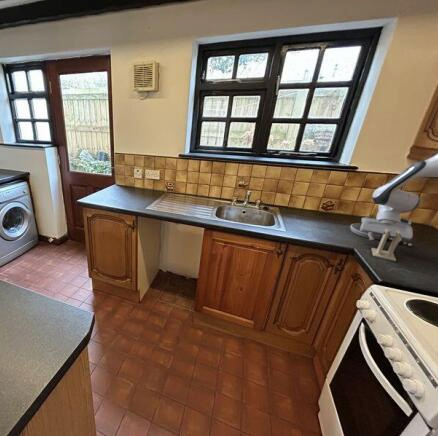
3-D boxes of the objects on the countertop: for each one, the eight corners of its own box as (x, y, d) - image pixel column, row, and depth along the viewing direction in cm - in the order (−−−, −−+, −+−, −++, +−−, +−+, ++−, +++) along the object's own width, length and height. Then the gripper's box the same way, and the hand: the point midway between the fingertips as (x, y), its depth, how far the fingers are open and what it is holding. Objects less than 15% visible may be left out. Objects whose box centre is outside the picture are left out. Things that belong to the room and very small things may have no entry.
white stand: (371, 249, 127) (381, 225, 122) (391, 254, 123) (402, 229, 118) (373, 257, 120) (384, 232, 115) (395, 262, 116) (407, 236, 110)
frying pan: (410, 247, 126) (346, 226, 146) (407, 252, 127) (344, 231, 148) (416, 238, 135) (356, 220, 156) (414, 243, 137) (354, 224, 157)
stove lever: (378, 240, 129) (379, 234, 129) (387, 242, 127) (389, 236, 127) (387, 236, 117) (389, 229, 117) (397, 238, 115) (399, 231, 115)
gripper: (364, 213, 134) (359, 235, 130) (415, 222, 123) (412, 246, 119) (360, 218, 139) (355, 239, 135) (410, 227, 128) (406, 250, 124)
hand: (382, 242), depth 127 cm, fingers open, 8 cm apart
